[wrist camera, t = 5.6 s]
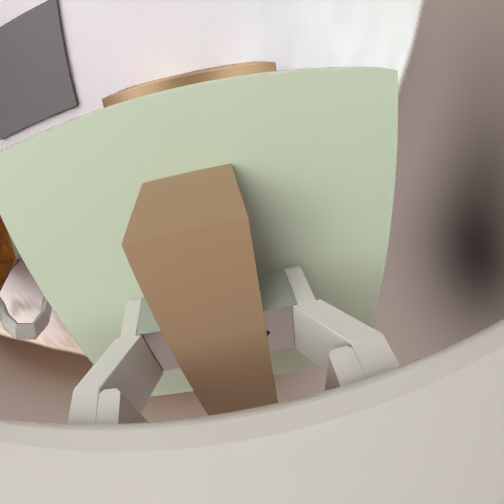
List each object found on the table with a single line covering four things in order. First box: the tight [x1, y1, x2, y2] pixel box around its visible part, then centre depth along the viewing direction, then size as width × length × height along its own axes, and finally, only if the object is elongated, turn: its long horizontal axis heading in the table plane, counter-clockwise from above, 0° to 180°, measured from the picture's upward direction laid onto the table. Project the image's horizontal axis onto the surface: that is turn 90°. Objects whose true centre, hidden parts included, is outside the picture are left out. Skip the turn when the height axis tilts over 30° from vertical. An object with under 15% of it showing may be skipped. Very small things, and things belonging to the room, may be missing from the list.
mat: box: [0, 0, 78, 140], centre depth 20 cm, size 10×12×1 cm
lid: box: [0, 67, 398, 415], centre depth 10 cm, size 12×12×6 cm
